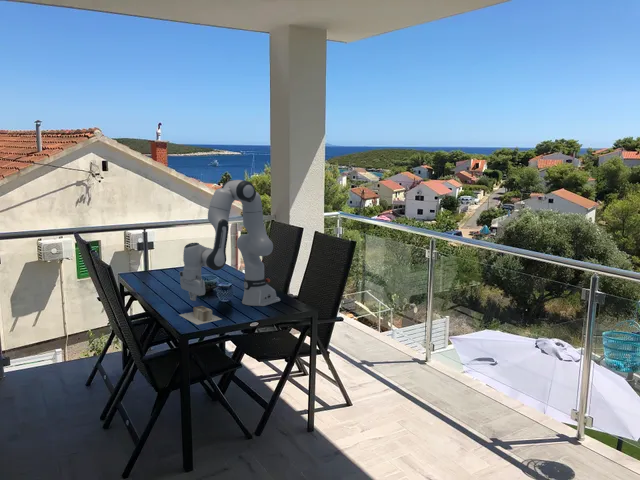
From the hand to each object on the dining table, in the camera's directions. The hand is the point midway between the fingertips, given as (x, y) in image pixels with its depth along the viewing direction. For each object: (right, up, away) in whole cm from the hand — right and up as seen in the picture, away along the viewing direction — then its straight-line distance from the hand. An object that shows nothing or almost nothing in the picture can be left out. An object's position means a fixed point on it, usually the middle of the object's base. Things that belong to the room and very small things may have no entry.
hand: (193, 300), depth 248 cm
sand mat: (+5, -8, -4) cm, 11 cm away
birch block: (+3, -5, -3) cm, 7 cm away
